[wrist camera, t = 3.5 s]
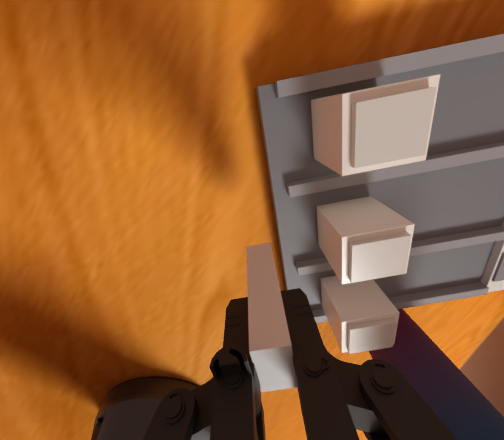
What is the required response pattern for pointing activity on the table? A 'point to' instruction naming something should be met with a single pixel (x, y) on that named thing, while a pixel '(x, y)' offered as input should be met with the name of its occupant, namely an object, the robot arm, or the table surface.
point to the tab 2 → (359, 315)
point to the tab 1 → (374, 126)
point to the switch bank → (400, 175)
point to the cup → (441, 384)
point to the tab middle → (364, 239)
